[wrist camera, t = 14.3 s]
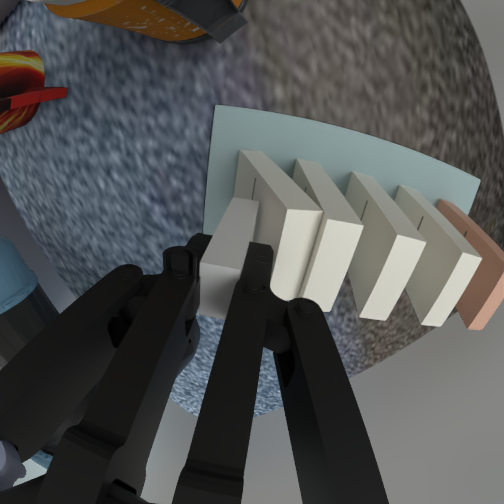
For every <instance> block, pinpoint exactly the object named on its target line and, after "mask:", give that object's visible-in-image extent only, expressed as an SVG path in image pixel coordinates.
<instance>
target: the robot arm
mask: <svg viewBox="0 0 504 504" xmlns="http://www.w3.org/2000/svg"><path fill="white" fill-rule="evenodd" d="M258 207H259V201H253V200H248V199H242V198H236V197H233V198H232V200H231V202H230V204H229V206H228V208H227V210H226V212H225V214H224V215H223V217H222V219H221V221H220V223H219V225H218V227H217V229H216V231H215V233H214V235H208V234H202V233H197V234H196V235H194V236H192V237H191V238H190V240H189V242H188V244H187V245H186V246H174V247H170V248H168V249H166V250H165V251H164V252H163V267H164V270H163V272H162V274H156V275H143V271H142V269H141V268H140V267H138V266H136V265H133V264H125V265H121V266H119V267H117V268H115V269H114V270H112V271H111V272H110V273H109V274H107V275H106V276H105V277H104V278H102V279H101V280H100V281H99V282H97V283H96V284H95V285H94V286H93V287H91V288H90V289H89V290H88V291H86V292H85V293H84V294H83V295H82V296H80V297H79V298H78V299H77V300H76V301H74V302H73V303H72V304H71V305H70V306H69V307H68V308H66V309H65V310H64V311H63V312H62V313H61V314H59V312H58V311H57V310H56V308H55V307H54V305H53V304H52V303H51V301H50V300H49V298H48V297H47V295H46V294H45V292H44V291H43V289H42V288H41V286H40V285H39V283H38V282H37V276H36V275H35V273H34V272H33V271H32V270H30V269H29V268H28V266H27V265H26V263H25V262H24V260H23V259H22V257H21V256H20V254H19V252H18V251H17V249H16V248H15V246H14V244H13V243H12V242H11V241H10V240H9V239H8V238H6V237H5V236H1V235H0V504H155V503H149V502H147V501H145V500H143V499H142V498H140V496H141V493H142V490H143V486H144V482H145V477H146V464H147V461H148V457H149V454H150V451H151V448H152V445H153V442H154V439H155V436H156V433H157V430H158V427H159V424H160V421H161V418H162V415H163V412H164V410H165V406H166V403H167V401H168V398H169V395H170V392H171V389H172V387H173V384H174V381H175V379H176V378H177V376H178V375H179V374H180V373H181V372H182V371H183V369H184V368H185V367H186V366H187V365H188V364H189V362H190V361H191V360H192V359H193V357H194V355H195V353H196V350H197V347H198V344H199V341H200V329H199V325H198V322H197V320H196V312H197V310H198V307H199V314H200V315H205V316H209V317H214V318H219V319H224V320H225V323H224V327H223V330H222V334H221V337H220V341H219V344H218V348H217V351H216V355H215V359H214V362H213V366H212V369H211V373H210V377H209V380H208V384H207V387H206V391H205V395H204V398H203V402H202V406H201V409H200V413H199V417H198V420H197V424H196V427H195V431H194V435H193V438H192V442H191V446H190V450H189V453H188V457H187V460H186V463H185V466H184V467H183V469H182V471H181V473H180V476H179V479H178V482H177V486H176V490H175V493H174V497H173V501H172V504H241V499H242V493H243V485H244V484H243V483H244V479H243V476H244V469H245V463H246V457H247V451H248V445H249V439H250V432H251V426H252V420H253V413H254V407H255V400H256V393H257V386H258V379H259V373H260V365H261V358H262V351H263V347H265V348H267V349H269V350H272V351H273V355H274V361H275V366H276V371H277V376H278V381H279V386H280V391H281V396H282V401H283V406H284V411H285V416H286V421H287V426H288V431H289V436H290V441H291V446H292V451H293V456H294V461H295V466H296V471H297V476H298V481H299V487H300V491H301V497H302V502H303V504H389V502H388V499H387V495H386V492H385V488H384V485H383V482H382V479H381V475H380V472H379V468H378V465H377V462H376V459H375V455H374V452H373V449H372V446H371V443H370V440H369V437H368V434H367V431H366V428H365V425H364V422H363V419H362V416H361V413H360V410H359V407H358V404H357V402H356V399H355V396H354V393H353V390H352V387H351V385H350V382H349V379H348V376H347V374H346V371H345V368H344V366H343V363H342V360H341V358H340V355H339V352H338V350H337V347H336V344H335V342H334V339H333V337H332V334H331V331H330V329H329V326H328V324H327V321H326V319H325V316H324V314H323V311H322V309H321V307H320V306H319V305H318V304H317V303H316V302H315V301H313V300H310V299H308V298H302V297H299V298H294V299H292V300H290V301H289V302H287V301H285V300H283V299H281V298H279V297H277V296H276V295H275V294H274V293H273V292H272V290H271V288H270V281H271V272H272V264H273V255H274V251H273V249H272V247H271V245H267V244H262V243H256V242H253V238H254V232H255V226H256V220H257V213H258ZM28 459H32V460H33V461H35V462H36V463H38V464H39V465H41V466H43V467H45V468H46V469H48V470H47V473H46V474H44V475H42V476H39V477H37V478H34V479H32V480H29V481H27V482H24V483H22V484H19V485H17V486H14V487H13V484H14V482H15V481H16V480H17V479H18V478H23V477H25V475H26V469H25V466H24V465H23V464H22V463H23V462H25V461H26V460H28Z"/></svg>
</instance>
